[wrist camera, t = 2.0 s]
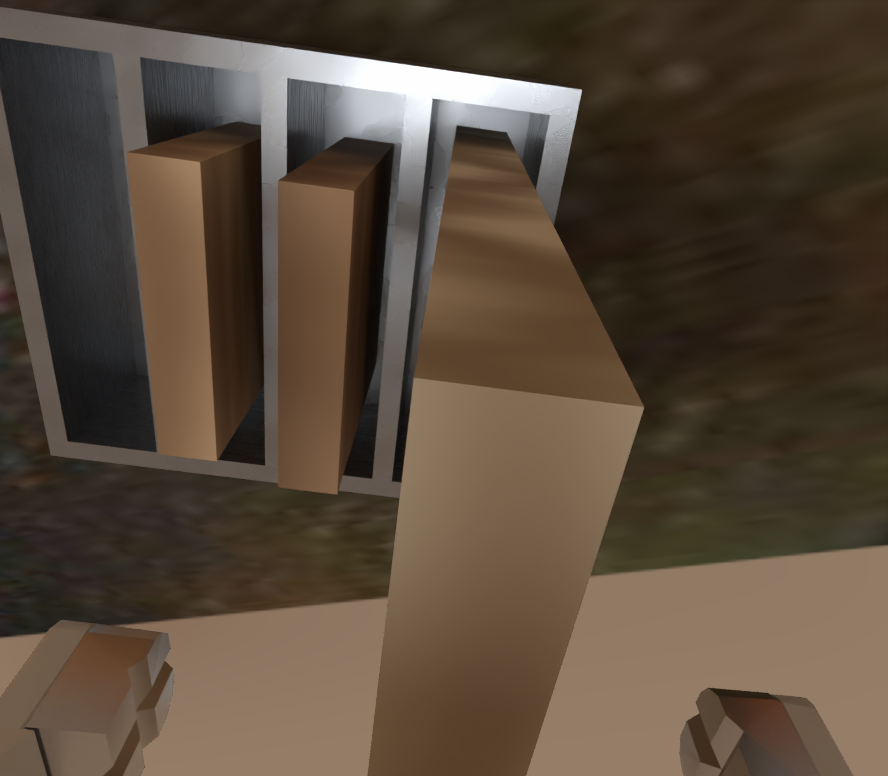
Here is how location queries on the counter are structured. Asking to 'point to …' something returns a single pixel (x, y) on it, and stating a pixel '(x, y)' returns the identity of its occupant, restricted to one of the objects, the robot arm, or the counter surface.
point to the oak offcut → (201, 282)
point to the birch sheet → (496, 480)
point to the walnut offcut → (329, 305)
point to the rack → (283, 150)
